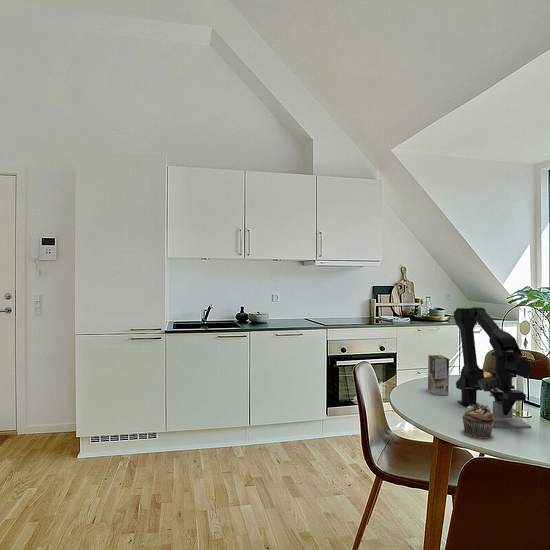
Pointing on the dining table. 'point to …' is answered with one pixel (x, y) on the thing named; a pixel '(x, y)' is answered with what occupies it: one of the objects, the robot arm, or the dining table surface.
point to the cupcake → (478, 420)
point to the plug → (501, 410)
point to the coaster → (509, 422)
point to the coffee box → (438, 374)
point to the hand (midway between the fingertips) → (502, 413)
